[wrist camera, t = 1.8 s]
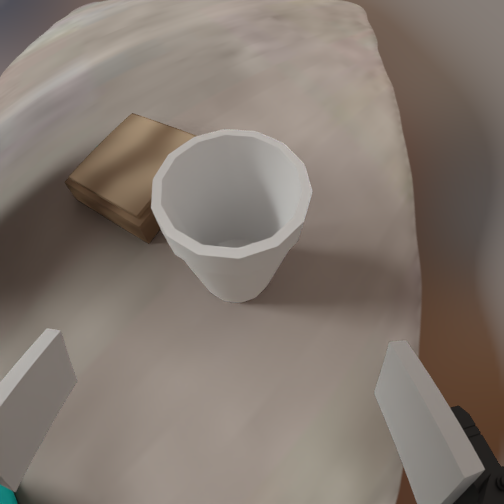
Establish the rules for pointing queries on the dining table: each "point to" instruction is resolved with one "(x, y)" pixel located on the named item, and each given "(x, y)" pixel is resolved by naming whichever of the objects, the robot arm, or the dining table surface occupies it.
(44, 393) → the robot arm
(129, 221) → the pedestal
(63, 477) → the dining table surface
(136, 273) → the dining table surface
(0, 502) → the donuts
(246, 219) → the foam cup
